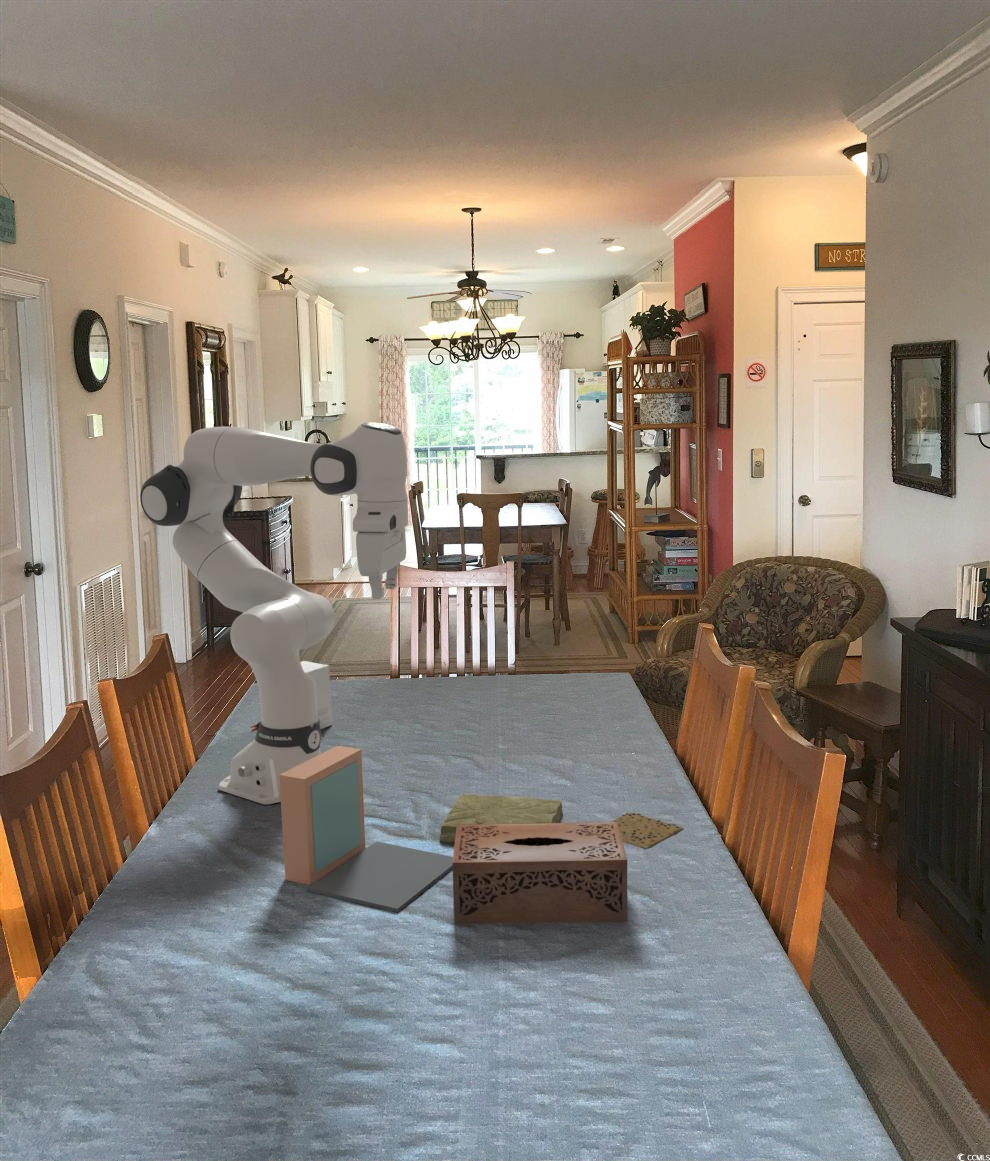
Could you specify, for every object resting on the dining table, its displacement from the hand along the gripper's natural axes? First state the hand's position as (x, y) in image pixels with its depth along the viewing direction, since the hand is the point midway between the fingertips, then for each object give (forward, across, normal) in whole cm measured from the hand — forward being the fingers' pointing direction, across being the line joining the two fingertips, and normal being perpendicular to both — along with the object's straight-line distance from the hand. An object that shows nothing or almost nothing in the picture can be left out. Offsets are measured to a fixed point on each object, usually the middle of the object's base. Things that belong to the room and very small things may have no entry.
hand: (384, 593), depth 194 cm
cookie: (+43, -1, +46) cm, 63 cm away
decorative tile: (+44, 0, +21) cm, 48 cm away
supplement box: (+44, -55, -34) cm, 79 cm away
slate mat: (+43, +22, +5) cm, 49 cm away
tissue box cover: (+43, +28, +31) cm, 60 cm away
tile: (+43, +19, -6) cm, 47 cm away
